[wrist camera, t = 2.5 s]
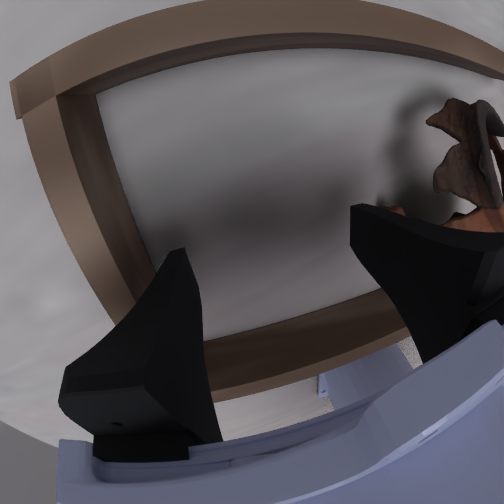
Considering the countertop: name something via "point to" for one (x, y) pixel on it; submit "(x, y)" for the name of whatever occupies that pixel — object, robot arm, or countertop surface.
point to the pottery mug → (471, 164)
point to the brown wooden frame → (112, 195)
